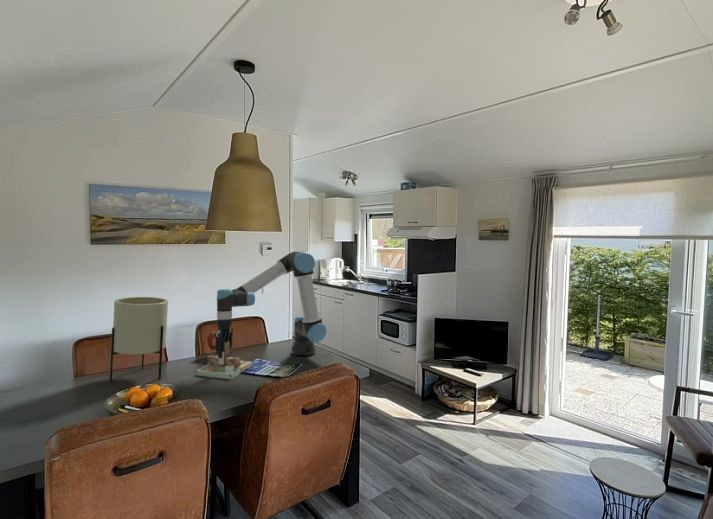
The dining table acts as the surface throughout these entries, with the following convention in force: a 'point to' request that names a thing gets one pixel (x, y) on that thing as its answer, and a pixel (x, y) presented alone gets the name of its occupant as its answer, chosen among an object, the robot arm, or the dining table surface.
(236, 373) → the tray
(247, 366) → the board
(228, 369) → the tile
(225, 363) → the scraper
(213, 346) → the reddish brown curved figurine
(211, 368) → the tile
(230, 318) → the robot arm
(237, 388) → the dining table surface
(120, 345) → the planter
